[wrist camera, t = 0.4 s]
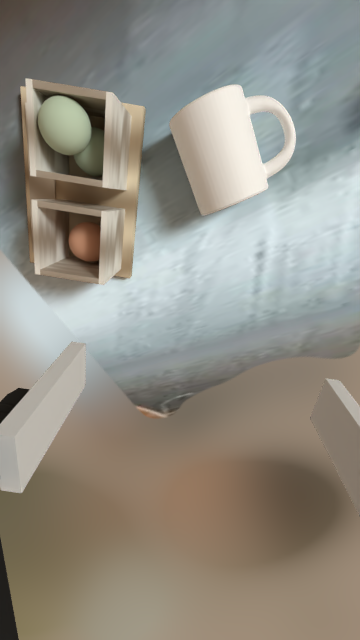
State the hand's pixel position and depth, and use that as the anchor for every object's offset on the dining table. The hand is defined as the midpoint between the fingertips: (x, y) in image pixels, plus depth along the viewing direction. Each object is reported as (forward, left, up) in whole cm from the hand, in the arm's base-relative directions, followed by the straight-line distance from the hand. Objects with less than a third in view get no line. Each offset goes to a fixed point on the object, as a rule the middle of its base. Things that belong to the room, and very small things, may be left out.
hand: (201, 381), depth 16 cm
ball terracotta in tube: (-2, -14, -23) cm, 27 cm away
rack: (-8, -16, -27) cm, 32 cm away
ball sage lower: (-12, -14, -23) cm, 30 cm away
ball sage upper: (-14, -16, -19) cm, 28 cm away
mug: (-15, +2, -27) cm, 31 cm away
